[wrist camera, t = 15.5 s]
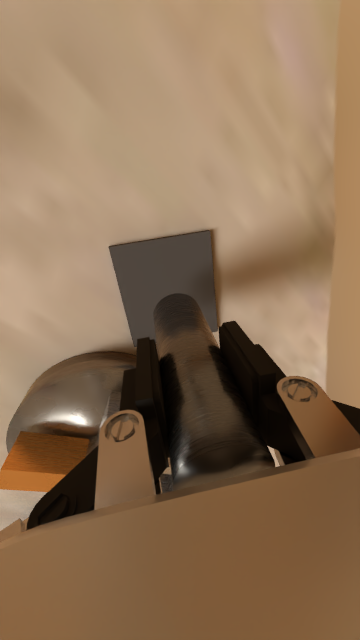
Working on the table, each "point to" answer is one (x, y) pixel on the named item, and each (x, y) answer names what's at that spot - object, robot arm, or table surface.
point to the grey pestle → (202, 401)
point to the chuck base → (71, 396)
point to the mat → (164, 277)
